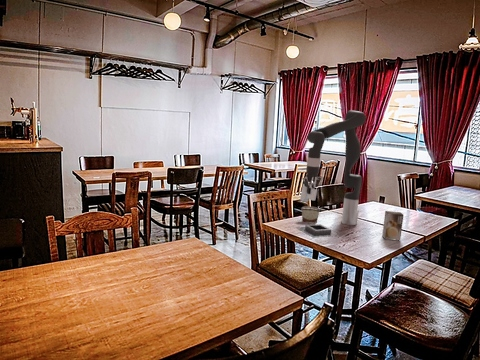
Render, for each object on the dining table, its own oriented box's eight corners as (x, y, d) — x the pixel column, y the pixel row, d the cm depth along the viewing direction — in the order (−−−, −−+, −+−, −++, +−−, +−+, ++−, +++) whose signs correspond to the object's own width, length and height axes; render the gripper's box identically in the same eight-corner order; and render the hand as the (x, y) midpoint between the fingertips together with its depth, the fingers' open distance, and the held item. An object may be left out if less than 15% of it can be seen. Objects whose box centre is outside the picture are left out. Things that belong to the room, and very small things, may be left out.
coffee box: (397, 237, 225) (401, 212, 222) (400, 241, 218) (404, 214, 216) (381, 236, 226) (385, 210, 223) (384, 239, 219) (387, 213, 217)
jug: (298, 199, 229) (301, 183, 226) (304, 198, 231) (307, 183, 228) (309, 205, 220) (313, 189, 217) (316, 204, 223) (319, 189, 220)
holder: (321, 227, 236) (322, 221, 235) (341, 237, 218) (342, 231, 217) (294, 228, 228) (295, 223, 228) (312, 239, 210) (313, 233, 210)
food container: (317, 221, 249) (319, 207, 247) (318, 224, 243) (320, 209, 241) (299, 219, 250) (300, 205, 248) (299, 222, 244) (301, 207, 242)
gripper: (308, 166, 213) (306, 195, 216) (326, 166, 221) (323, 194, 224) (300, 164, 219) (297, 193, 222) (317, 164, 227) (314, 191, 230)
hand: (310, 193), depth 223 cm, fingers closed on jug
